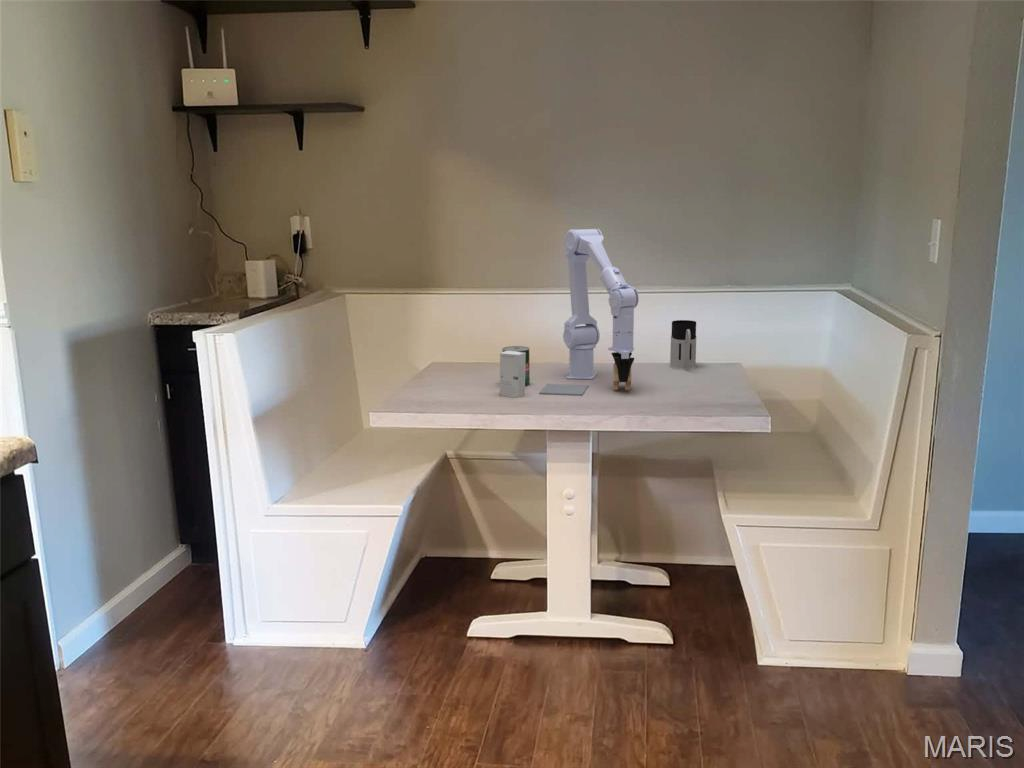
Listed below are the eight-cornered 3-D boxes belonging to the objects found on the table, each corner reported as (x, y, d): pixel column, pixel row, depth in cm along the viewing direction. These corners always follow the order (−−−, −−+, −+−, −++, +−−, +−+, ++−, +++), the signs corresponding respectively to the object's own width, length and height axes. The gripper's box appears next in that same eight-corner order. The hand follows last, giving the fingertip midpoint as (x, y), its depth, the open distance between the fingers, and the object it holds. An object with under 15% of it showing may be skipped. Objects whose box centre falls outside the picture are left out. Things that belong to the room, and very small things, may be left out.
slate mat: (547, 385, 247) (547, 383, 247) (588, 387, 245) (588, 385, 244) (539, 394, 236) (539, 392, 236) (582, 396, 233) (582, 394, 233)
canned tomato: (527, 388, 244) (526, 350, 241) (500, 388, 245) (499, 350, 243) (532, 383, 251) (531, 346, 249) (505, 382, 253) (505, 345, 251)
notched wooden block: (615, 386, 242) (615, 361, 241) (631, 386, 241) (631, 362, 240) (613, 389, 238) (613, 364, 236) (629, 390, 237) (629, 365, 235)
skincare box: (499, 396, 235) (498, 352, 233) (507, 392, 239) (506, 350, 236) (518, 398, 232) (518, 354, 230) (526, 395, 236) (526, 351, 233)
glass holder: (694, 366, 273) (695, 319, 270) (702, 375, 259) (704, 326, 256) (666, 366, 273) (667, 320, 270) (673, 375, 260) (675, 326, 256)
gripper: (606, 327, 243) (606, 374, 246) (610, 335, 229) (610, 385, 232) (631, 327, 243) (630, 374, 246) (637, 335, 229) (636, 385, 232)
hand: (622, 379), depth 239 cm, fingers closed on notched wooden block, 5 cm apart
